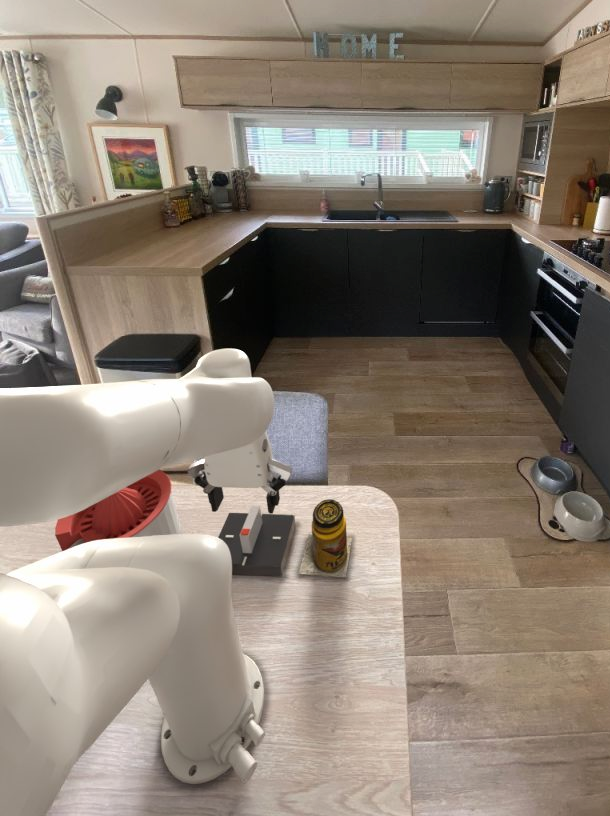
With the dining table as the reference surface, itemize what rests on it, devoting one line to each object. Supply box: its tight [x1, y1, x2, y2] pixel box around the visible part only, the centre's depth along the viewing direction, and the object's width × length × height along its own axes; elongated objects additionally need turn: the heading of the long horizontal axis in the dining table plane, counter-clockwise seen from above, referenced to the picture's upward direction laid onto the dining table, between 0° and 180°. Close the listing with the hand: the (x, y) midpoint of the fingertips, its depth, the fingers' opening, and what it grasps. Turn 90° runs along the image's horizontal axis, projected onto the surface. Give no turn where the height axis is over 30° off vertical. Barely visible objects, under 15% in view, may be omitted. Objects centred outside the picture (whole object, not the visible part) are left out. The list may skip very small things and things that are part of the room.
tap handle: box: [240, 505, 263, 553], centre depth 71 cm, size 6×2×5 cm, turn 178°
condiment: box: [298, 498, 353, 578], centre depth 69 cm, size 7×8×12 cm
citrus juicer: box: [54, 469, 182, 552], centre depth 64 cm, size 16×17×20 cm
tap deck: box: [217, 512, 297, 578], centre depth 72 cm, size 13×10×3 cm
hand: (245, 505), depth 68 cm, fingers open, 9 cm apart
